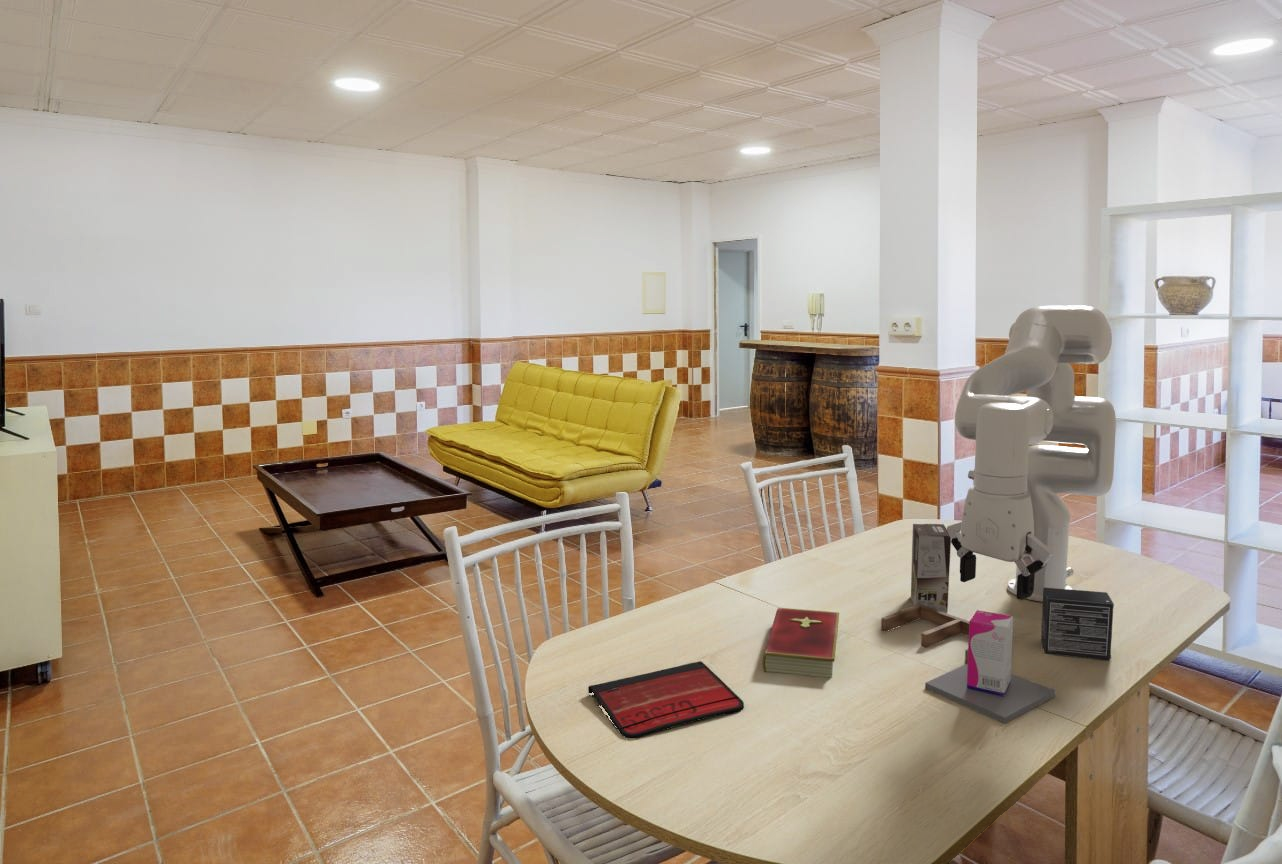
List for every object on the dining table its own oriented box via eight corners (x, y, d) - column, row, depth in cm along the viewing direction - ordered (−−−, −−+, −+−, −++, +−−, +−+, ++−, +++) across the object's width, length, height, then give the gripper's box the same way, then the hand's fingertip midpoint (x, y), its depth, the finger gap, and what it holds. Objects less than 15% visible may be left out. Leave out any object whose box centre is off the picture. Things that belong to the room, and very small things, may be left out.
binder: (587, 684, 135) (700, 658, 144) (587, 697, 136) (700, 671, 144) (626, 734, 121) (749, 703, 129) (626, 749, 121) (749, 716, 130)
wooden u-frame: (919, 615, 164) (919, 603, 164) (1008, 648, 149) (1008, 635, 149) (881, 630, 158) (881, 617, 158) (969, 665, 143) (970, 651, 142)
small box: (1104, 646, 149) (1108, 590, 147) (1111, 661, 143) (1115, 604, 141) (1039, 639, 152) (1042, 585, 151) (1043, 654, 146) (1047, 597, 145)
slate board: (975, 665, 143) (976, 659, 143) (1055, 696, 131) (1055, 690, 131) (925, 688, 135) (925, 682, 135) (1004, 723, 123) (1005, 717, 123)
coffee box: (948, 614, 165) (952, 536, 162) (915, 612, 166) (917, 535, 164) (941, 597, 174) (944, 523, 171) (909, 595, 175) (912, 522, 172)
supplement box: (1011, 682, 134) (1014, 615, 132) (1004, 697, 129) (1008, 628, 127) (973, 673, 137) (976, 608, 135) (965, 688, 132) (968, 620, 131)
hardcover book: (762, 674, 142) (762, 651, 142) (776, 626, 162) (776, 606, 161) (833, 681, 139) (834, 657, 138) (838, 631, 159) (839, 611, 158)
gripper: (936, 477, 132) (933, 579, 135) (1040, 498, 118) (1034, 611, 121) (964, 470, 136) (961, 568, 140) (1068, 489, 122) (1061, 599, 126)
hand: (995, 588), depth 130 cm, fingers open, 9 cm apart
